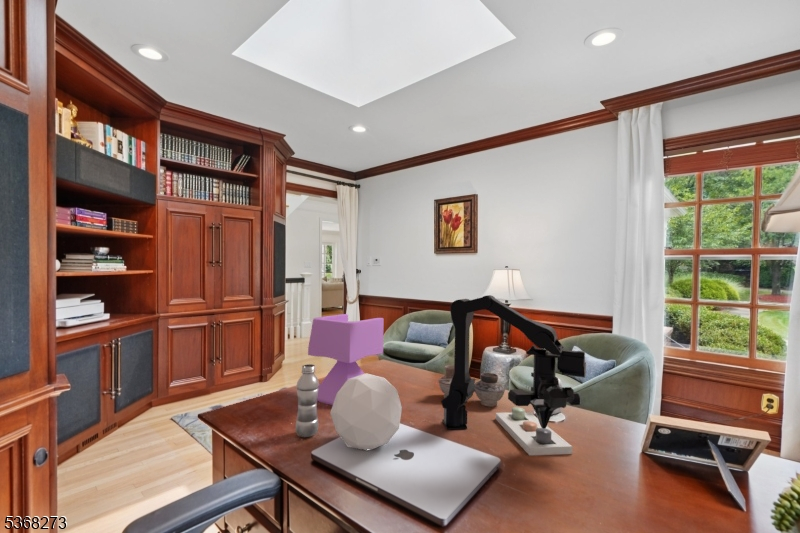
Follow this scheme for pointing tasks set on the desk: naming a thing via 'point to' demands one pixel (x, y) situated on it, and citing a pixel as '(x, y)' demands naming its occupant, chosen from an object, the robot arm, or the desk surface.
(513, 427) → the button console
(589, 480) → the desk surface
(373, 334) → the purple table lamp
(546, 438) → the charcoal button
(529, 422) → the terracotta button
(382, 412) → the geometric orb
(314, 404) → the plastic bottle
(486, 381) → the pottery
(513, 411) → the sage button
